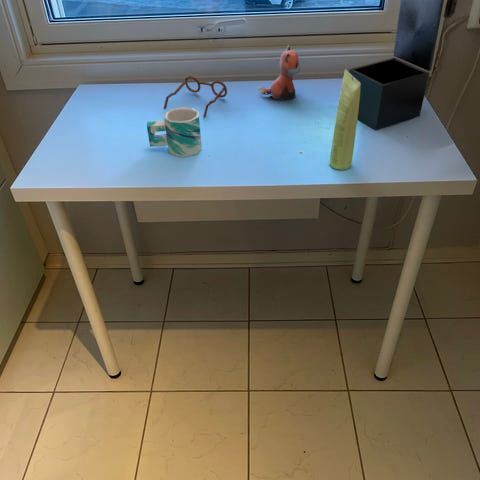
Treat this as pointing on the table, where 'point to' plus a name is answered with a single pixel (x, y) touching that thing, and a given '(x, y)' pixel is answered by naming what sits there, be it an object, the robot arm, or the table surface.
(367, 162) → the table surface
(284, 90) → the stuffed fox
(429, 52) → the bin lid
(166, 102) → the glasses
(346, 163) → the tube
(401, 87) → the bin
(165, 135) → the mug
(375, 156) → the table surface
